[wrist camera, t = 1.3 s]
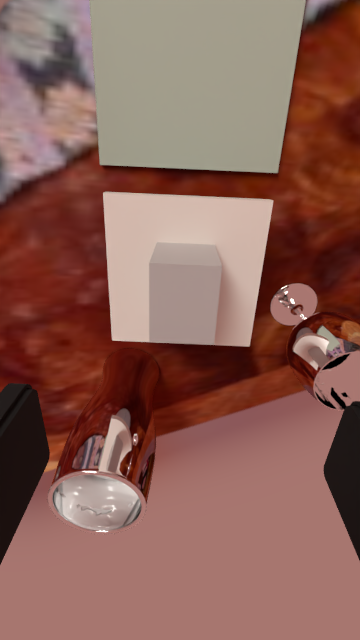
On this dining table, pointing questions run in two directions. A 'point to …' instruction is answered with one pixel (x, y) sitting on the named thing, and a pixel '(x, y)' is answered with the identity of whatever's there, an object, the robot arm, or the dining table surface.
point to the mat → (194, 81)
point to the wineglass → (320, 346)
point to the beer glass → (110, 450)
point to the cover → (184, 266)
